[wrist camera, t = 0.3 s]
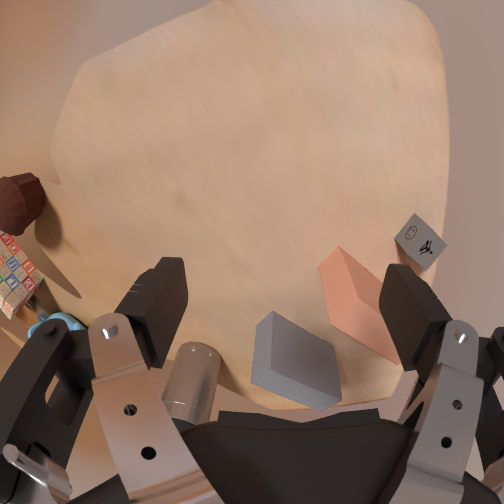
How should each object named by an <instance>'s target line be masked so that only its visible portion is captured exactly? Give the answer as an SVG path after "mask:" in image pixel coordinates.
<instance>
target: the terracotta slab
mask: <svg viewBox="0 0 504 504" xmlns="http://www.w3.org/2000/svg"><path fill="white" fill-rule="evenodd" d="M318 269H319V273H320V278H321V282H322V287H323V291H324V296H325V301H326V306H327V311H328V316H329V321H330V324H332V325H333V326H335V327H336V328H338V329H339V330H341V331H343V332H344V333H346V334H347V335H349V336H351V337H352V338H354V339H356V340H357V341H359V342H360V343H362V344H364V345H365V346H367V347H368V348H370V349H372V350H373V351H375V352H377V353H378V354H380V355H381V356H383V357H385V358H386V359H388V360H390V361H391V362H393V363H395V364H396V365H398V364H399V363H401V361H400V358H399V355H398V353H397V350H396V348H395V345H394V343H393V341H392V338H391V336H390V333H389V331H388V329H387V326H386V324H385V322H384V320H383V317H382V315H381V313H380V310H379V296H380V292H381V289H382V286H383V283H382V282H381V281H380V280H379V279H377V278H376V277H375V276H374V275H373V274H372V273H371V272H369V271H368V270H367V269H366V268H365V267H363V266H362V265H361V264H360V263H359V262H357V261H356V260H355V259H354V258H353V257H351V256H350V255H349V254H348V253H347V252H345V251H344V250H343V249H342V248H341V247H339V246H338V247H337V248H336V249H335V250H334V251H333V252H332V253H331V254H330V255H329V256H328V257H327V258H326V259H325V260H324V261H323V262H322V263H321V264H320V265H319V266H318Z"/></svg>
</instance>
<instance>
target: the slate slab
mask: <svg viewBox="0 0 504 504" xmlns="http://www.w3.org/2000/svg"><path fill="white" fill-rule="evenodd" d="M251 383H252V384H254V385H256V386H259V387H261V388H263V389H266V390H268V391H270V392H273V393H275V394H278V395H280V396H283V397H285V398H288V399H290V400H293V401H295V402H298V403H301V404H303V405H306V406H309V407H311V408H314V409H317V410H320V411H324V410H326V409H328V408H329V407H331V406H333V405H335V404H337V403H338V402H340V401H342V395H341V388H340V382H339V375H338V369H337V363H336V357H335V351H334V346H332V345H330V344H329V343H327V342H325V341H323V340H322V339H320V338H318V337H316V336H315V335H313V334H311V333H309V332H308V331H306V330H304V329H303V328H301V327H299V326H298V325H296V324H294V323H292V322H291V321H289V320H287V319H286V318H284V317H282V316H281V315H279V314H277V313H276V312H274V311H272V312H271V313H270V314H269V315H268V316H267V317H265V318H264V319H263V320H262V321H261V322H260V323H259V324H258V325H257V328H256V338H255V347H254V357H253V366H252V376H251Z"/></svg>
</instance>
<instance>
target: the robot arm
mask: <svg viewBox="0 0 504 504" xmlns="http://www.w3.org/2000/svg"><path fill="white" fill-rule="evenodd" d="M187 303H188V289H187V282H186V275H185V268H184V262H183V259H182V258H180V257H162V258H161V259H160V261H159V262H158V264H157V265H156V266H155V268H154V269H149V270H147V271H146V272H144V273H143V274H141V275H140V276H139V277H138V279H137V280H136V282H135V283H134V285H133V286H132V287H131V288H130V290H129V292H128V293H127V294H126V295H125V297H124V298H123V300H122V301H121V302H120V304H119V305H118V307H117V308H116V310H115V311H114V313H108V314H105V315H102V316H100V317H98V318H97V319H95V320H94V321H93V322H92V323H91V325H90V326H89V329H83V330H70V329H69V327H68V325H67V323H66V322H65V321H64V320H63V319H60V318H53V319H49V320H47V321H45V322H43V323H42V324H40V325H39V326H38V327H37V328H36V330H35V331H34V332H33V334H32V335H31V337H30V338H29V339H28V341H27V342H26V344H25V345H24V346H23V348H22V349H21V351H20V352H19V354H18V355H17V357H16V358H15V360H14V361H13V363H12V364H11V366H10V367H9V369H8V370H7V372H6V374H5V375H4V377H3V379H2V380H1V382H0V504H504V410H502V407H501V405H500V402H499V400H498V398H497V395H496V393H495V390H494V388H493V385H494V384H495V383H496V381H497V380H498V379H499V377H500V376H502V378H503V380H504V327H498V328H496V329H495V331H494V332H493V334H492V336H491V338H485V337H479V336H478V334H477V332H476V330H475V329H474V328H473V327H472V326H471V325H470V324H468V323H466V322H464V321H461V320H453V319H452V318H451V317H450V315H449V313H448V312H447V310H446V309H445V308H444V306H443V305H442V303H441V302H440V300H439V299H437V296H436V295H435V293H433V291H432V289H431V288H430V286H429V285H428V284H427V283H426V282H425V281H424V280H422V279H421V278H420V277H418V276H417V275H416V274H415V273H414V271H413V270H412V269H411V268H410V266H409V265H408V264H389V266H388V268H387V271H386V275H385V278H384V282H383V286H382V289H381V292H380V296H379V310H380V313H381V315H382V317H383V320H384V322H385V324H386V326H387V329H388V331H389V333H390V336H391V338H392V341H393V343H394V345H395V348H396V350H397V353H398V355H399V358H400V361H401V363H402V366H403V368H404V371H412V370H417V373H418V377H417V378H416V380H415V382H414V385H413V388H412V390H411V392H410V395H409V397H408V400H407V402H406V404H405V407H404V409H403V411H402V413H401V415H400V417H399V419H398V421H397V422H394V421H391V420H386V419H380V416H379V412H378V408H375V409H368V410H358V411H349V412H341V413H337V414H334V415H331V416H327V417H324V418H320V419H317V420H313V421H309V422H304V423H299V422H294V421H289V420H285V419H280V418H276V417H271V416H268V415H263V414H259V413H243V412H230V411H219V416H218V421H212V422H209V419H210V414H211V409H212V404H213V399H214V394H215V390H216V385H217V380H218V376H219V371H220V366H221V357H220V355H219V354H218V353H217V351H215V350H214V349H213V348H211V347H209V346H207V345H204V344H201V343H186V344H183V345H182V346H180V348H179V350H178V352H177V355H176V358H175V361H174V363H173V366H172V369H171V372H170V374H169V377H168V380H167V383H166V386H165V389H164V391H163V395H162V397H160V395H159V393H158V391H157V389H156V386H155V384H154V382H153V380H152V378H151V375H150V373H149V370H150V367H155V368H160V369H162V367H163V364H164V362H165V359H166V357H167V354H168V351H169V349H170V346H171V344H172V341H173V339H174V336H175V334H176V331H177V329H178V326H179V324H180V322H181V319H182V317H183V314H184V312H185V309H186V307H187ZM54 375H56V377H57V378H58V379H59V381H58V383H57V385H56V387H55V389H54V391H53V393H52V395H51V397H50V399H49V401H48V403H47V404H46V401H45V393H46V390H47V388H48V386H49V384H50V383H51V381H52V379H53V377H54ZM93 395H94V397H95V401H96V405H97V409H98V413H99V417H100V420H101V424H102V427H103V430H104V434H105V437H106V440H107V443H108V446H109V449H110V451H111V454H112V457H113V460H114V463H115V465H116V468H117V470H118V474H117V475H115V476H114V477H112V478H110V479H109V480H107V481H105V482H104V483H102V484H100V485H99V486H97V487H95V488H93V489H91V490H89V491H88V492H86V493H84V494H82V495H80V496H78V497H76V498H75V499H72V500H70V498H69V495H70V494H71V493H72V486H71V485H70V483H69V477H68V475H67V473H66V471H65V469H66V466H67V463H68V459H69V457H70V454H71V451H72V448H73V446H74V443H75V440H76V438H77V435H78V432H79V429H80V427H81V424H82V422H83V419H84V417H85V414H86V412H87V409H88V407H89V405H90V402H91V400H92V397H93ZM474 437H476V441H477V445H478V449H479V452H480V457H481V461H482V465H483V470H484V479H483V480H481V481H478V480H477V479H476V478H474V477H473V476H472V475H470V474H469V473H468V472H466V471H465V468H466V465H467V462H468V459H469V456H470V452H471V448H472V445H473V441H474Z"/></svg>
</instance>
